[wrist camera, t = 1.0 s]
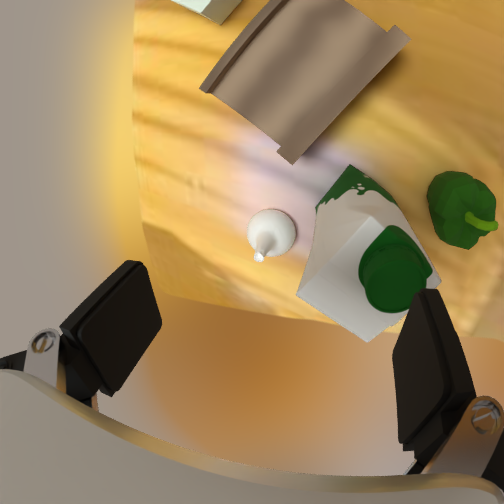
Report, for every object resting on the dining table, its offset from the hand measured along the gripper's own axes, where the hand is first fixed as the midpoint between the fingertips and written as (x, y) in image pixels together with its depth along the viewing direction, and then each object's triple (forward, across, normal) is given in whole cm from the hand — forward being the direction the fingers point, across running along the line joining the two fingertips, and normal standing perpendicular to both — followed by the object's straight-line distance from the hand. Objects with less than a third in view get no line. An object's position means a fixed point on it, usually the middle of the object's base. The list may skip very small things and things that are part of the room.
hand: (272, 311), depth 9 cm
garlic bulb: (+27, +5, +10) cm, 29 cm away
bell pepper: (+27, -18, +3) cm, 32 cm away
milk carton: (+27, -5, +5) cm, 28 cm away
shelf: (+27, +1, -12) cm, 29 cm away
